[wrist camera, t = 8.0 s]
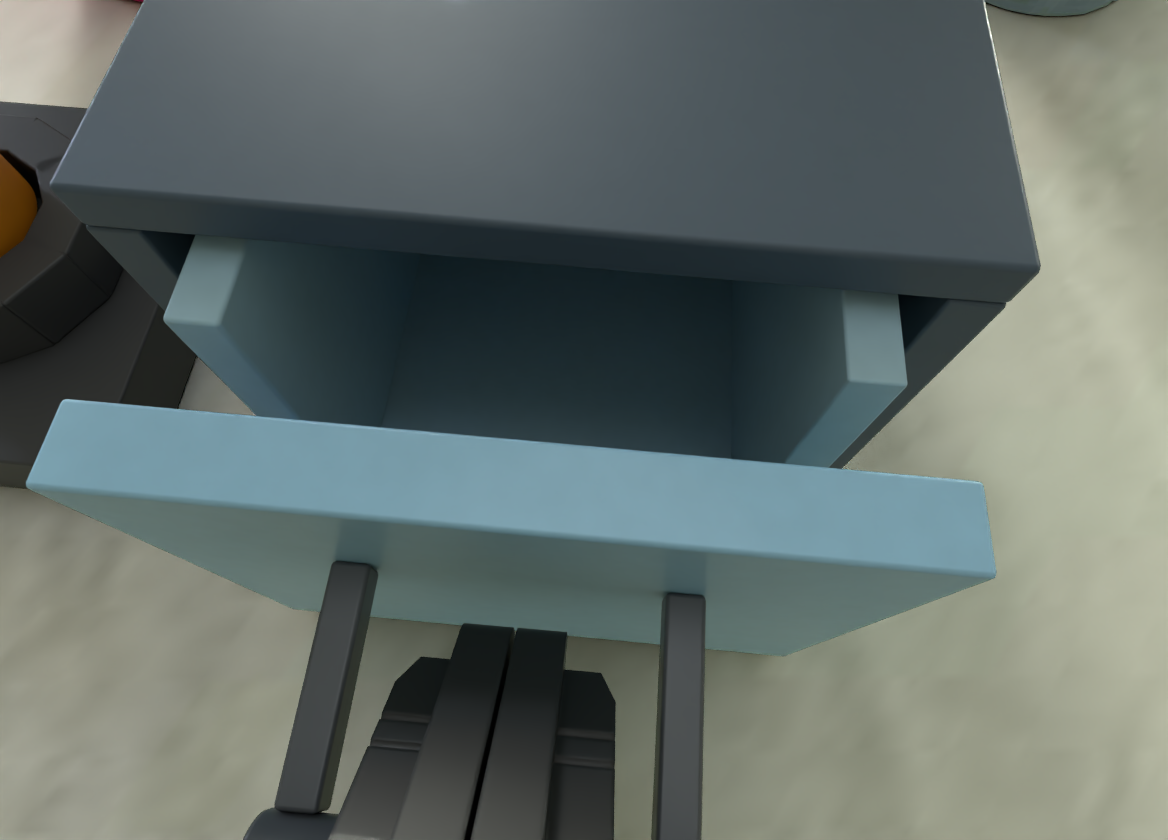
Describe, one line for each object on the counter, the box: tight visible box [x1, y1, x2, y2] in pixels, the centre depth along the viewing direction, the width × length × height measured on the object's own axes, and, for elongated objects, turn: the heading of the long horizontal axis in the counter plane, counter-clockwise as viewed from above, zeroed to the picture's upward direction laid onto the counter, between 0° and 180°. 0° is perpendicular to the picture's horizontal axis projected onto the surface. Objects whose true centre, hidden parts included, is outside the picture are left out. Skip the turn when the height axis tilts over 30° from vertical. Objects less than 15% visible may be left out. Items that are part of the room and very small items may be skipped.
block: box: [0, 102, 196, 488], centre depth 19 cm, size 9×11×4 cm
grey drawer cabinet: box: [50, 0, 1041, 469], centre depth 17 cm, size 15×13×11 cm
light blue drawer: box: [26, 235, 996, 840], centre depth 14 cm, size 18×11×9 cm, turn 175°
